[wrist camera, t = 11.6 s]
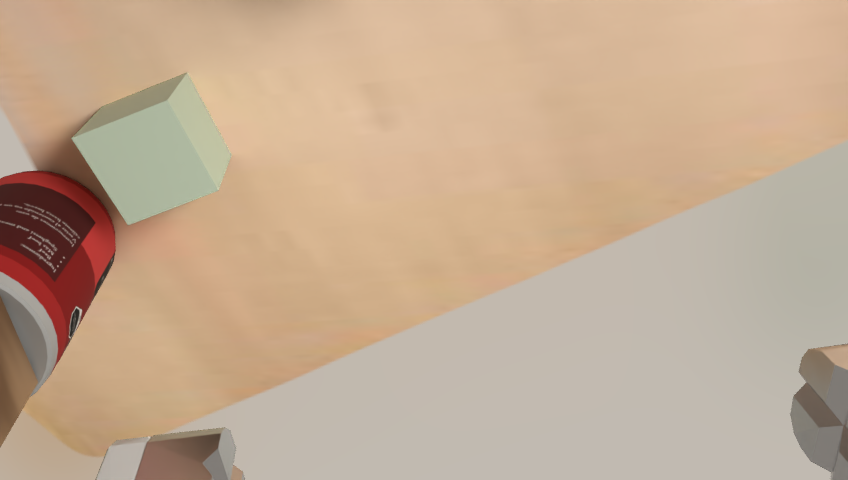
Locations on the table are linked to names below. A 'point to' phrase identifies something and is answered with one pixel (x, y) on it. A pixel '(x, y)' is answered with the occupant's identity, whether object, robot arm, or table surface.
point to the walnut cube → (12, 374)
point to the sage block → (155, 149)
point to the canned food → (50, 260)
